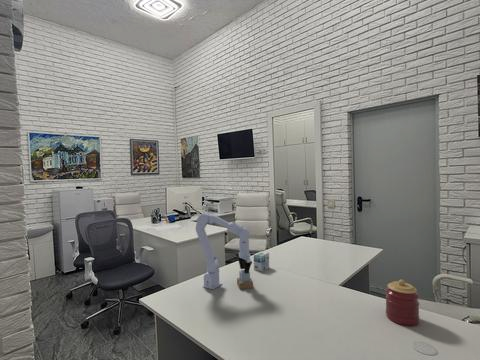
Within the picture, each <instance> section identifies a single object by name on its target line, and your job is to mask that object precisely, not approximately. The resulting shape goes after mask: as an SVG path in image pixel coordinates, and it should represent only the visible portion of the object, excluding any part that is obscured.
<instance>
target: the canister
mask: <svg viewBox="0 0 480 360" xmlns="http://www.w3.org/2000/svg"><path fill="white" fill-rule="evenodd" d="M385 293H386V295H385V314H386V315H385V316H386V317H387V319H388V320H390V321H391V322H392V323H395V324H398V325H401V326H404V327H405V326H406V327H415V326H417V325H419V323H420V302H419V298H420V295H419V294H418V290H417V288H416V287H415V286H413V285H412V284H410V283H408V282H406V281H405V280H404V279H399V280H395V281H392V282H390V283H387V287H386V288H385Z"/></svg>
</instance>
